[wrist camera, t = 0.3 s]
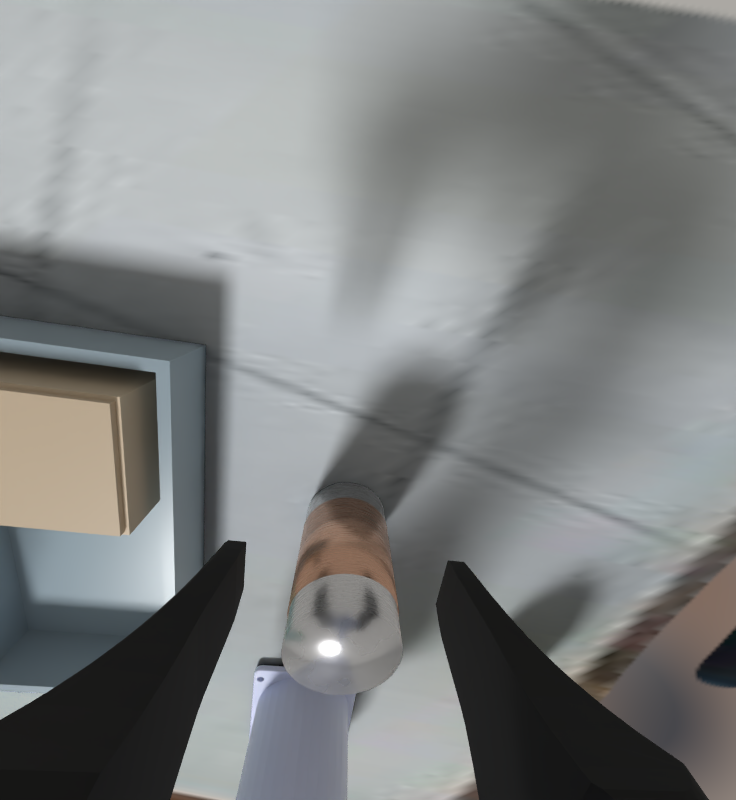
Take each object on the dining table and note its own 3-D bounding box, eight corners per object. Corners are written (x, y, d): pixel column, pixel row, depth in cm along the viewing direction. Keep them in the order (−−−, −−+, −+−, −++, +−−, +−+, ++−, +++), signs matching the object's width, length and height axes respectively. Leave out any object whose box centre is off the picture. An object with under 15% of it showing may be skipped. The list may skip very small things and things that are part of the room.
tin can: (377, 550, 24) (392, 698, 16) (303, 543, 24) (275, 692, 15) (391, 486, 22) (415, 612, 14) (311, 477, 22) (285, 602, 13)
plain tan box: (174, 483, 21) (125, 540, 16) (11, 466, 20) (-89, 520, 16) (172, 370, 19) (114, 399, 14) (-11, 345, 18) (-135, 368, 13)
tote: (202, 639, 26) (177, 700, 22) (28, 627, 25) (-31, 689, 21) (205, 345, 19) (169, 361, 15) (-37, 310, 18) (-140, 318, 14)
